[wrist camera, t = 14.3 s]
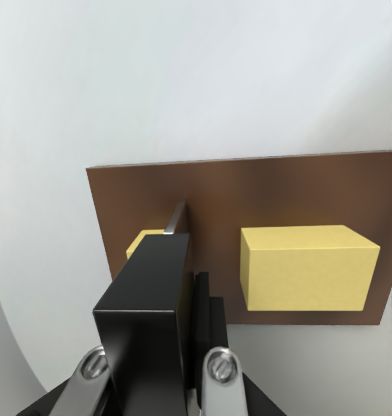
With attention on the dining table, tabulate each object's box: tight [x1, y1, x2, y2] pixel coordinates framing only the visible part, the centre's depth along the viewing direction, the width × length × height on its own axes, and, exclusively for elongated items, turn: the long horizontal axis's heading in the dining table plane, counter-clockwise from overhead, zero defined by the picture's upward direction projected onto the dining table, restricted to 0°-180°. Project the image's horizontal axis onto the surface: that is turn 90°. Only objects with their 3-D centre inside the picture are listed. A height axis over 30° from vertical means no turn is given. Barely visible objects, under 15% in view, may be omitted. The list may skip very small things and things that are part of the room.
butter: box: [240, 225, 380, 311], centre depth 13 cm, size 7×4×3 cm, turn 93°
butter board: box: [86, 150, 392, 325], centre depth 15 cm, size 22×14×2 cm, turn 93°
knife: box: [93, 201, 200, 416], centre depth 10 cm, size 2×9×9 cm, turn 3°
